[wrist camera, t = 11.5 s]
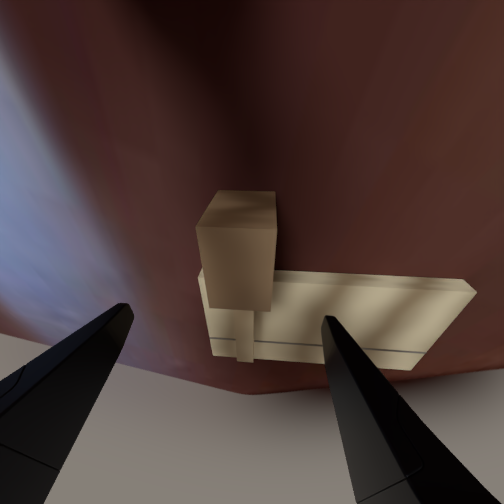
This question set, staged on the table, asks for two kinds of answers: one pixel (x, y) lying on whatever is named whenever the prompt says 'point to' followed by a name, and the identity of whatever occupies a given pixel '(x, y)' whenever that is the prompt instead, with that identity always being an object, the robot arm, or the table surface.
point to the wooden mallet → (239, 258)
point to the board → (346, 316)
